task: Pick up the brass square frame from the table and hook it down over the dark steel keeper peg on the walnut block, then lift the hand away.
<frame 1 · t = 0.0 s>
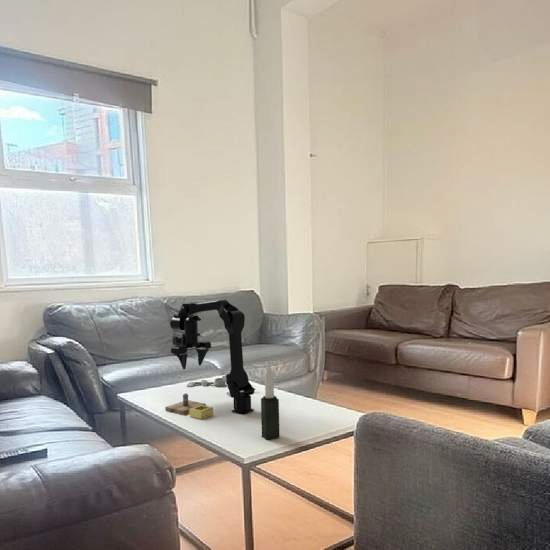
hand: (192, 367, 208), 15 cm above the table, tool pointing down, fingers open, 9 cm apart
keeper block: (185, 409, 197), on the table
brass square frame: (201, 415, 187), on the table
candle: (270, 437, 162), on the table
pulley system: (215, 385, 239), on the table
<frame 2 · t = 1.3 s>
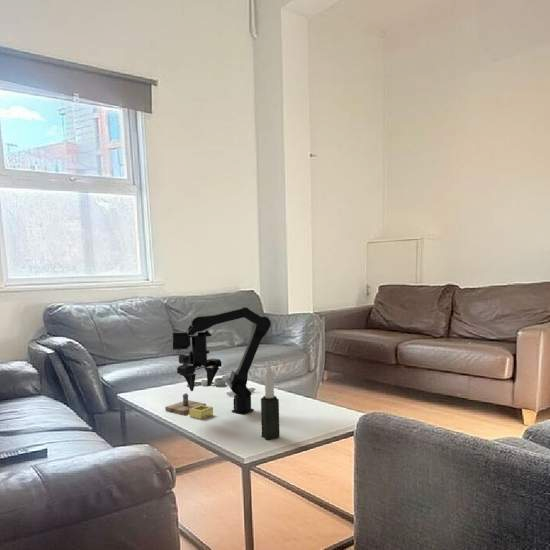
hand: (200, 388, 187), 11 cm above the table, tool pointing down, fingers open, 9 cm apart
nothing on the table moved.
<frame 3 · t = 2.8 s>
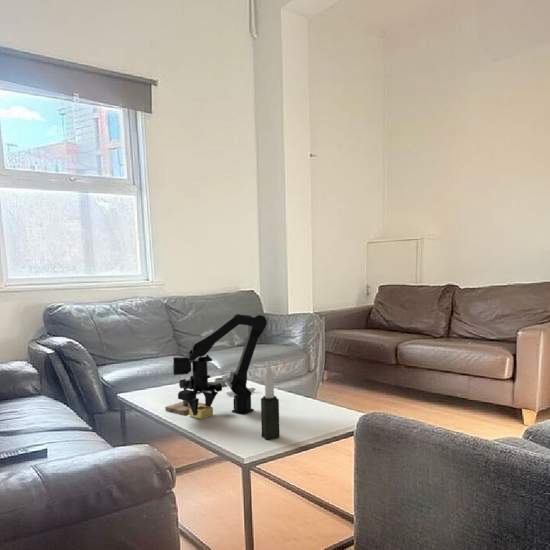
hand: (201, 413, 187), 1 cm above the table, tool pointing down, fingers closed on brass square frame, 6 cm apart
brass square frame: (201, 415, 187), on the table, touching gripper
everything else where it was.
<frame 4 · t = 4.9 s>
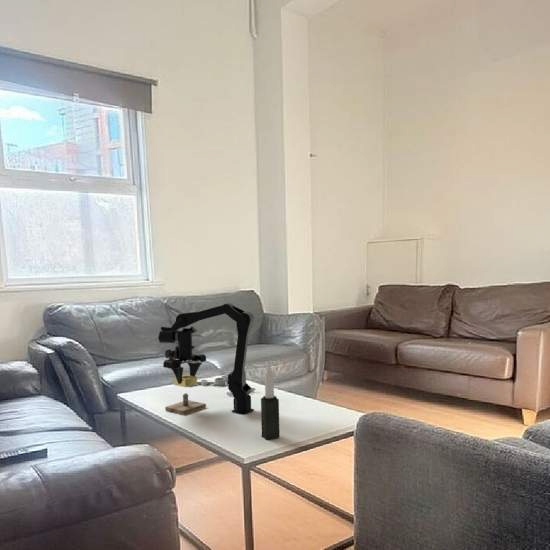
hand: (185, 381, 195), 11 cm above the table, tool pointing down, fingers closed on brass square frame, 6 cm apart
brass square frame: (185, 384, 195), point 10 cm above the table, touching gripper
everything else where it was.
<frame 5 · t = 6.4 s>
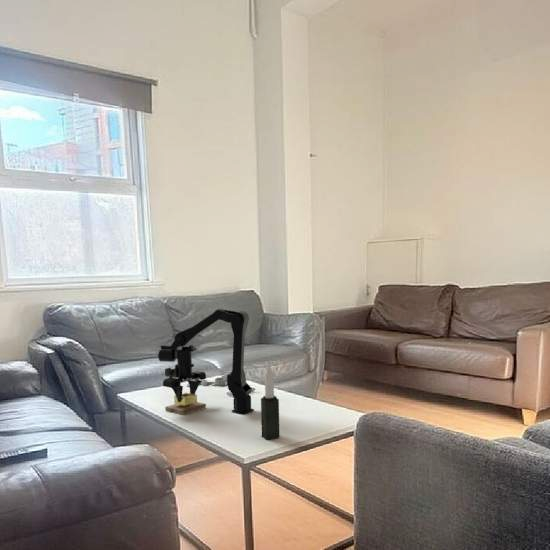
hand: (185, 400, 197), 4 cm above the table, tool pointing down, fingers closed on brass square frame, 6 cm apart
brass square frame: (185, 402, 197), point 3 cm above the table, touching gripper
everything else where it was.
when the fingers open (3 cm above the table, at t = 7.3 s): brass square frame stays where it is, resting on keeper block.
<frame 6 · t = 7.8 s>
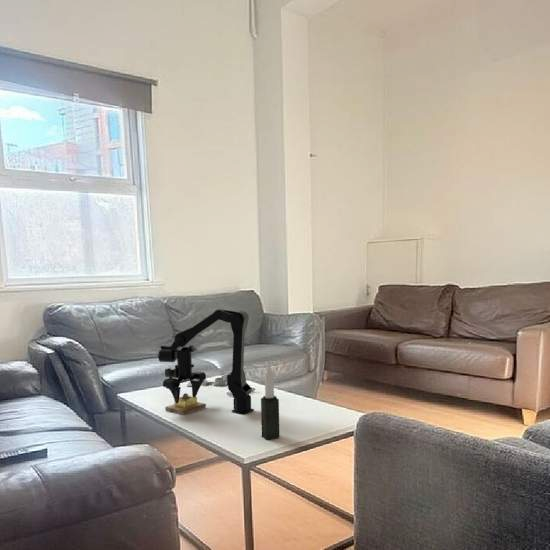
hand: (185, 400, 197), 3 cm above the table, tool pointing down, fingers open, 9 cm apart
brass square frame: (185, 405, 197), point 1 cm above the table, touching keeper block
everything else where it was.
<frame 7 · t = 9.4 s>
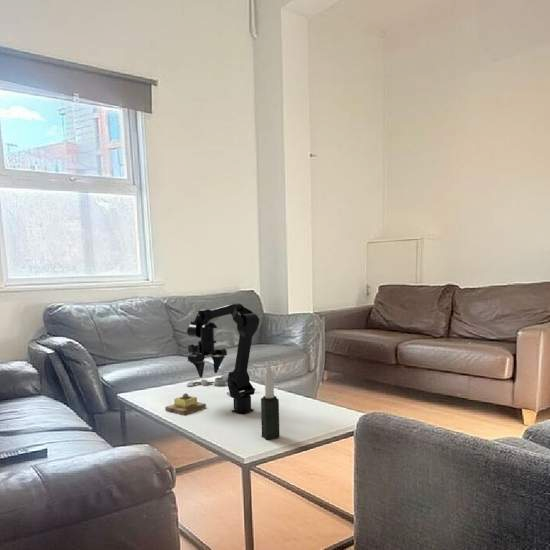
hand: (208, 375, 205), 12 cm above the table, tool pointing down, fingers open, 9 cm apart
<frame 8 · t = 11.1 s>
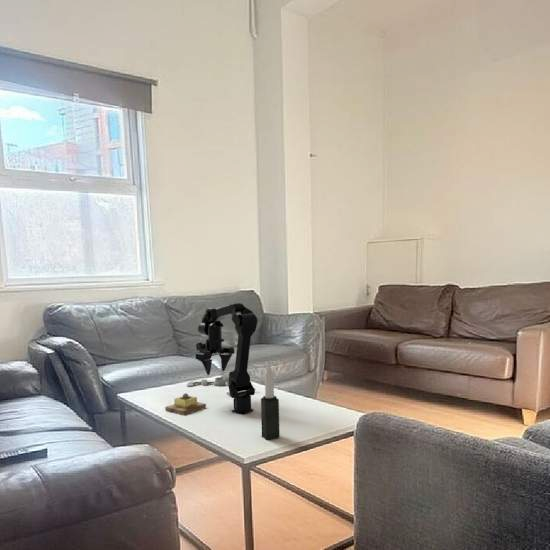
hand: (215, 372, 208), 12 cm above the table, tool pointing down, fingers open, 9 cm apart
at the end: brass square frame 0.0 cm off-centre on the keeper block, point 1.5 cm above the keeper block's base; the gripper is holding nothing; brass square frame tilted 0° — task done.
